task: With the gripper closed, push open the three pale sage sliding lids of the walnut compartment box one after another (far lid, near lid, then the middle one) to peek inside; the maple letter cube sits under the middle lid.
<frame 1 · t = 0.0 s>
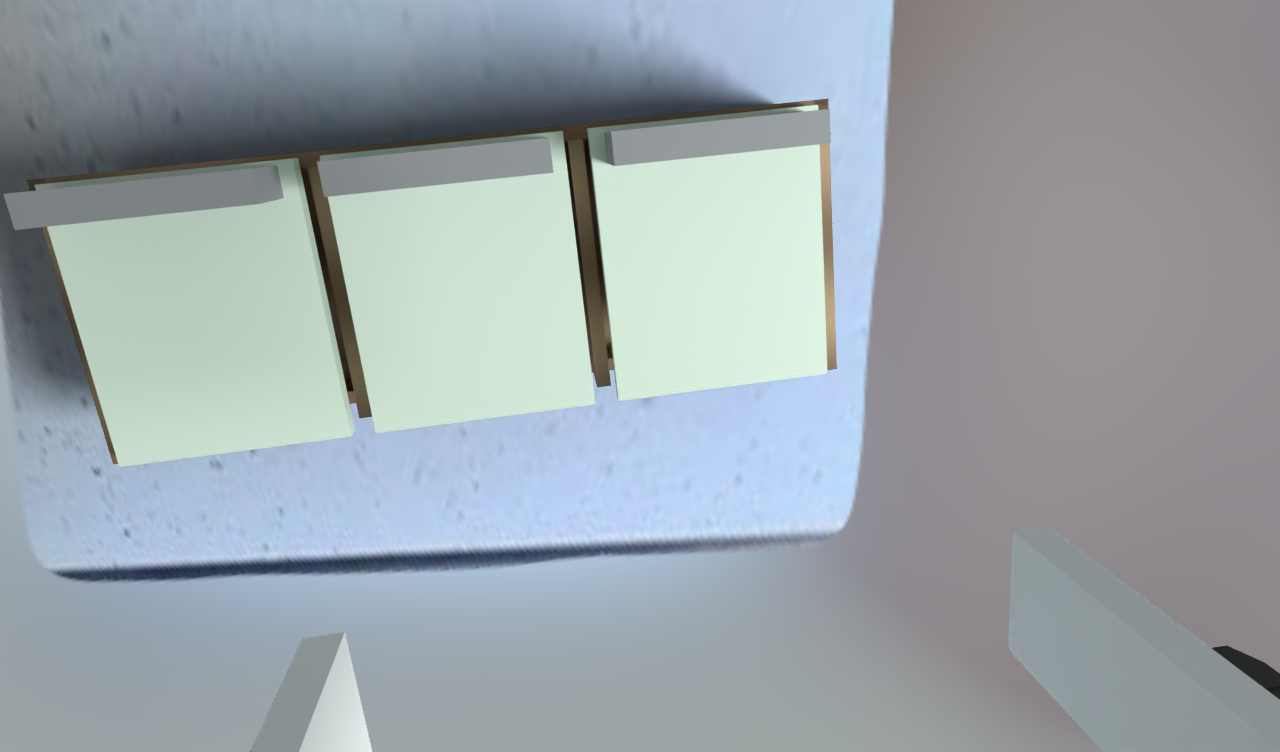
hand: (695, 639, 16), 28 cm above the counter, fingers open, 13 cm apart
lid b: (463, 292, 32), point 9 cm above the counter, slide at 0.0 cm
lid c: (720, 261, 33), point 9 cm above the counter, slide at 0.0 cm
lid a: (191, 324, 31), point 9 cm above the counter, slide at 0.0 cm
box: (478, 259, 41), on the counter
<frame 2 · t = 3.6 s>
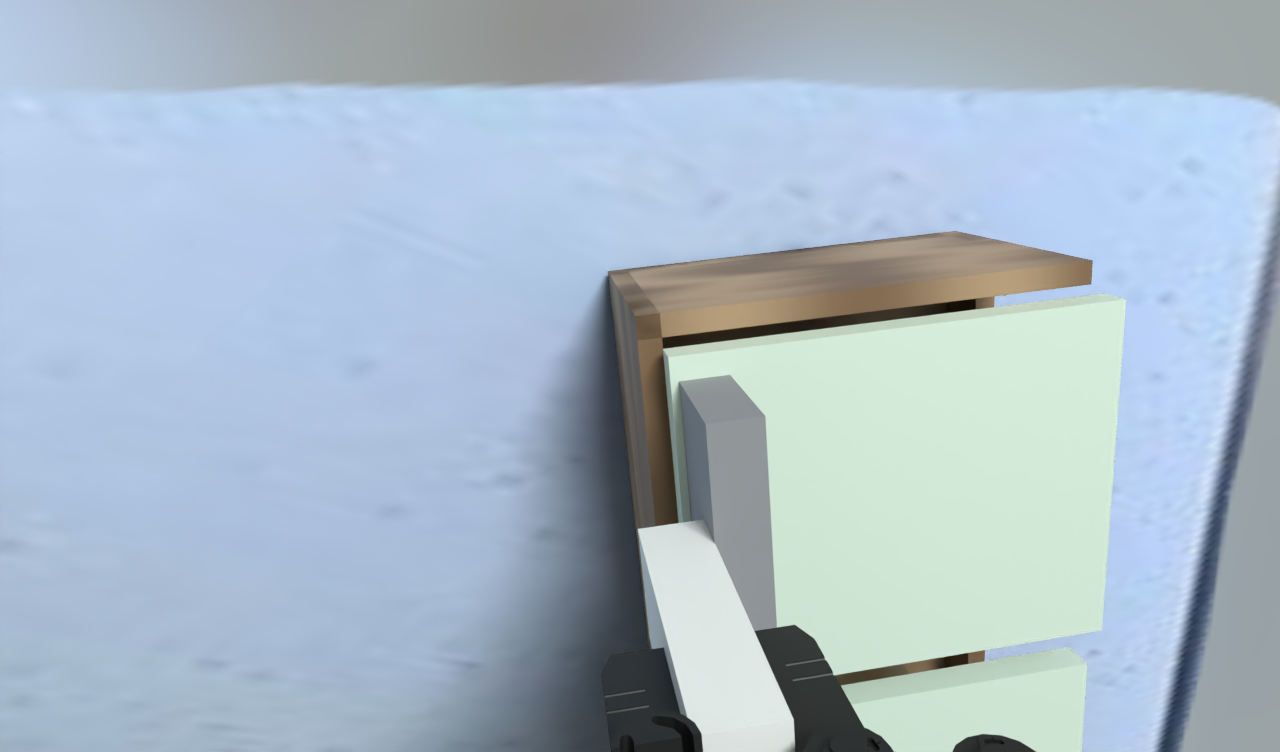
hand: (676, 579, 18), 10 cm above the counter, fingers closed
lid c: (924, 525, 20), point 9 cm above the counter, slide at 0.4 cm, touching gripper
letter cube: (823, 673, 31), point 1 cm above the counter, touching box
box: (803, 662, 31), on the counter
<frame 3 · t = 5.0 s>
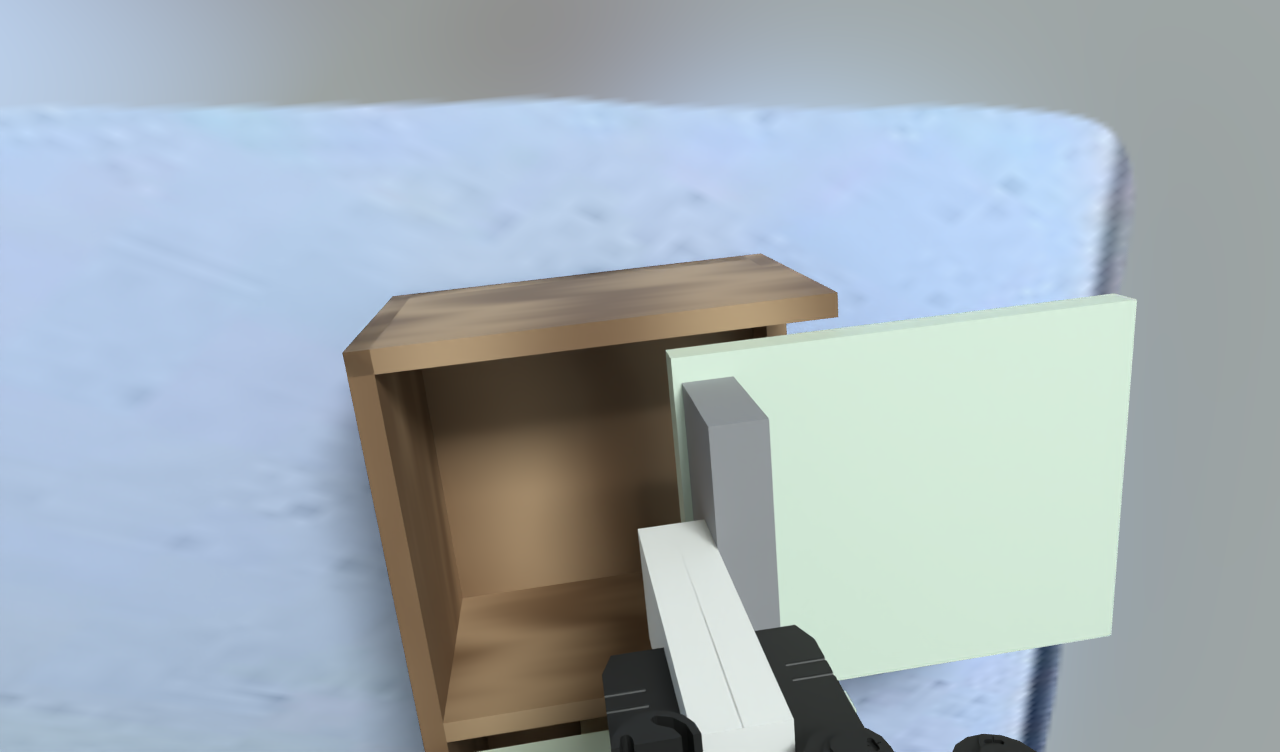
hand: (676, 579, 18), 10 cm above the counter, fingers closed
lid c: (930, 529, 19), point 9 cm above the counter, slide at 7.1 cm, touching gripper
letter cube: (646, 706, 30), point 1 cm above the counter, touching box
box: (630, 694, 30), on the counter
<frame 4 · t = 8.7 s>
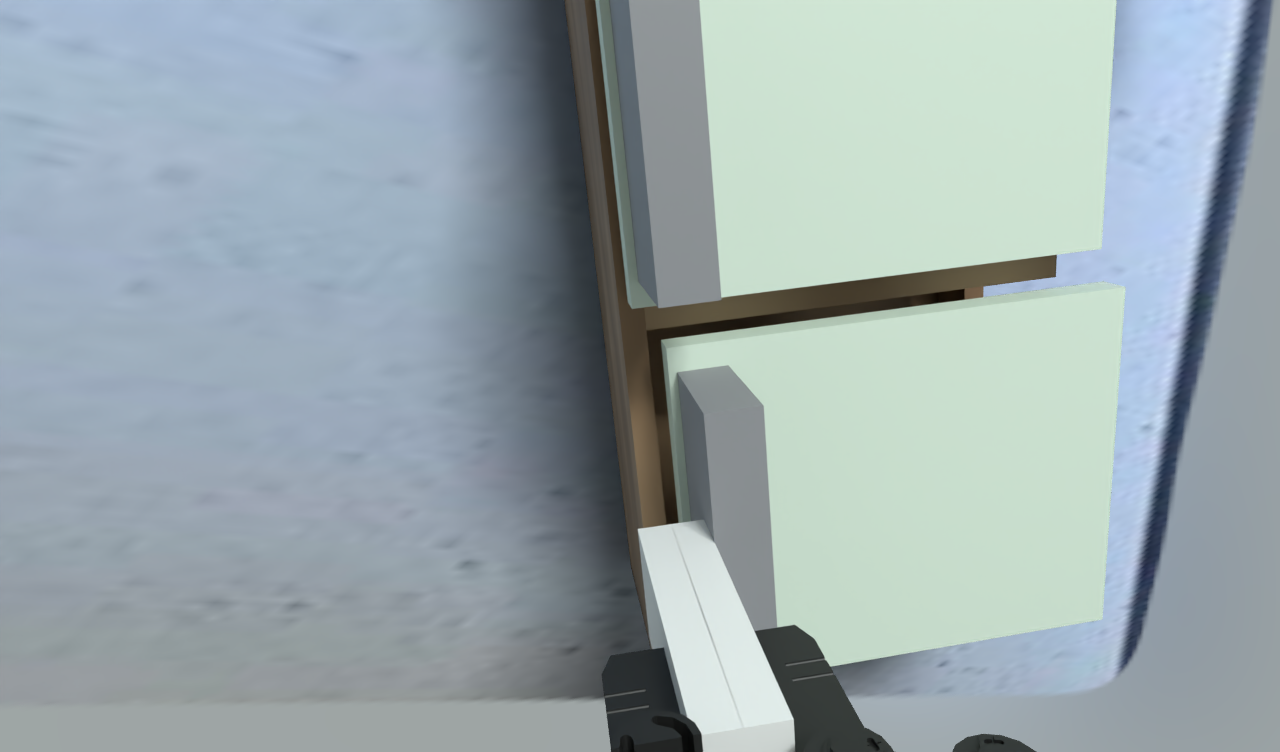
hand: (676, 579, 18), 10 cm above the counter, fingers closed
lid b: (890, 60, 17), point 9 cm above the counter, slide at 0.0 cm
lid a: (924, 515, 20), point 9 cm above the counter, slide at 0.7 cm, touching gripper
box: (765, 86, 25), on the counter
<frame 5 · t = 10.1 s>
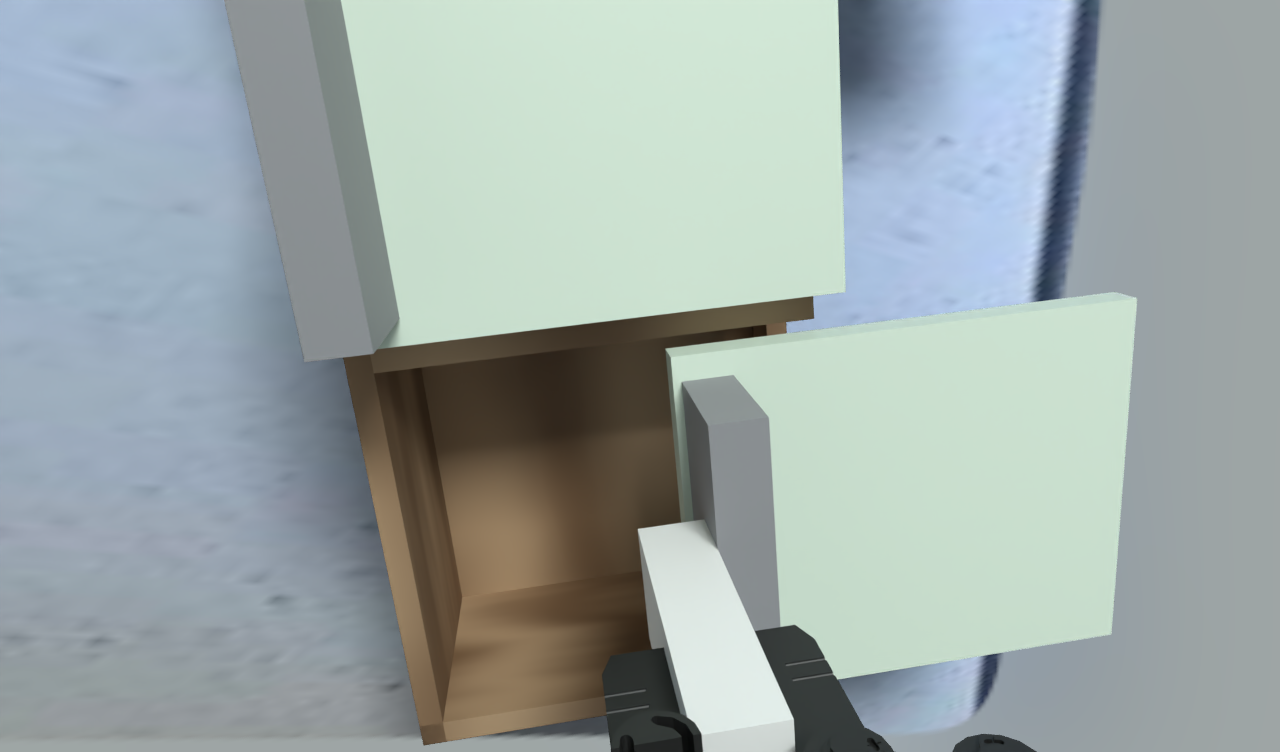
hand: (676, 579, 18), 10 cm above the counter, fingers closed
lid b: (576, 99, 16), point 9 cm above the counter, slide at 0.0 cm
lid a: (931, 528, 19), point 9 cm above the counter, slide at 7.1 cm, touching gripper
box: (561, 113, 25), on the counter
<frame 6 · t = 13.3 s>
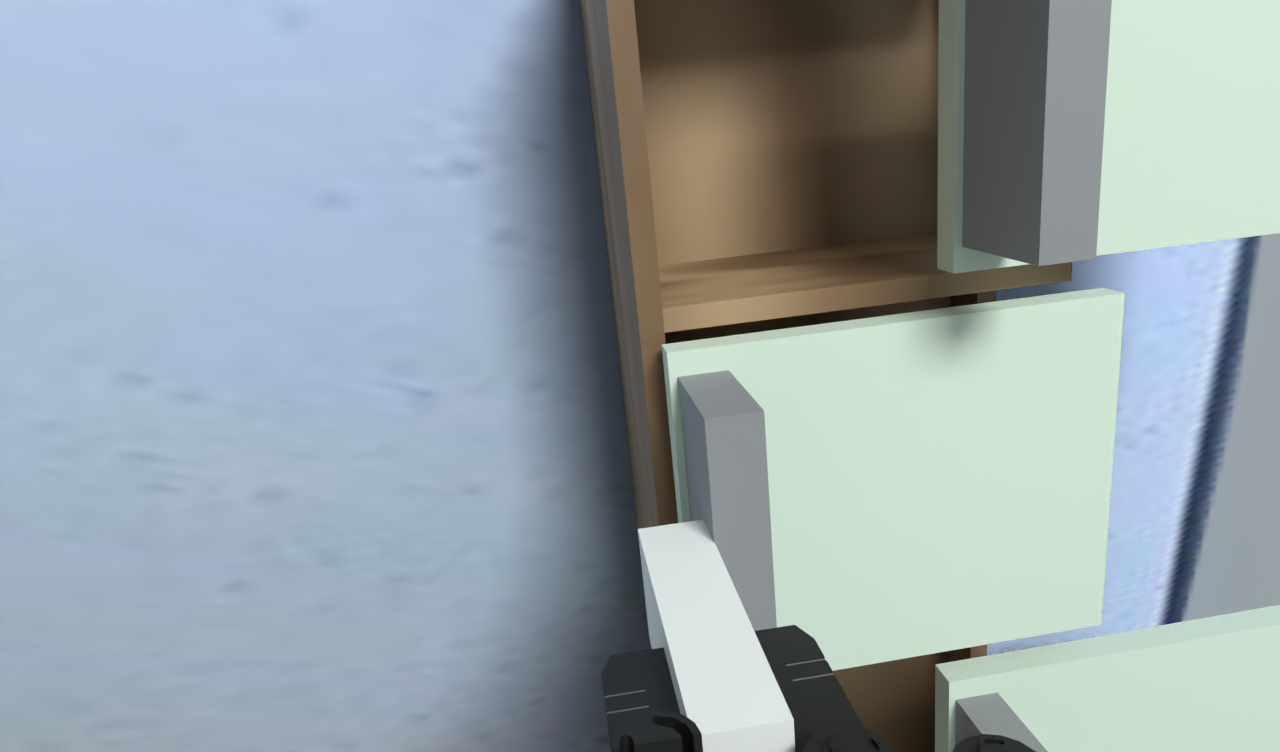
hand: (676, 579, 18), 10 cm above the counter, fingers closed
lid b: (923, 520, 20), point 9 cm above the counter, slide at 0.3 cm, touching gripper
lid c: (1235, 33, 17), point 9 cm above the counter, slide at 7.1 cm
box: (794, 403, 28), on the counter
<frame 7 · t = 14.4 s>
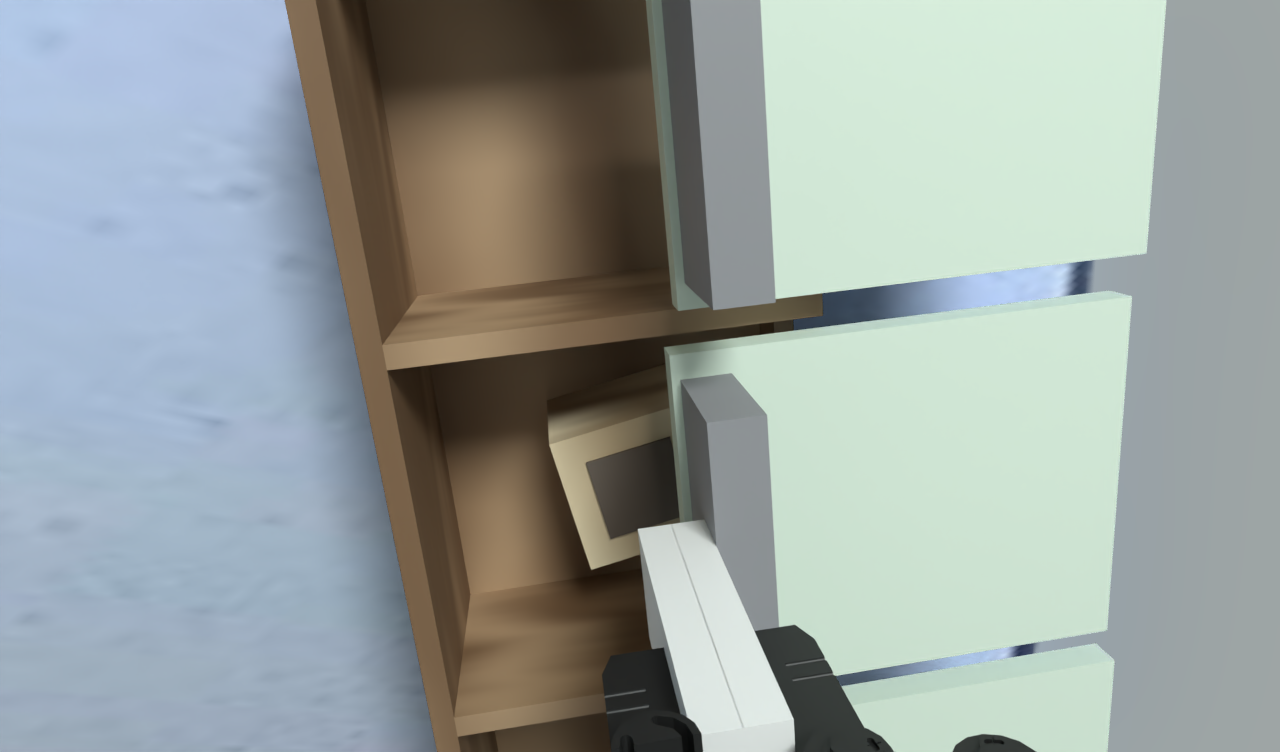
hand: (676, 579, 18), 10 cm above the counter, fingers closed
lid b: (927, 525, 20), point 9 cm above the counter, slide at 6.8 cm, touching gripper
lid c: (943, 64, 17), point 9 cm above the counter, slide at 7.1 cm
letter cube: (624, 438, 27), point 1 cm above the counter, touching box
box: (606, 431, 28), on the counter
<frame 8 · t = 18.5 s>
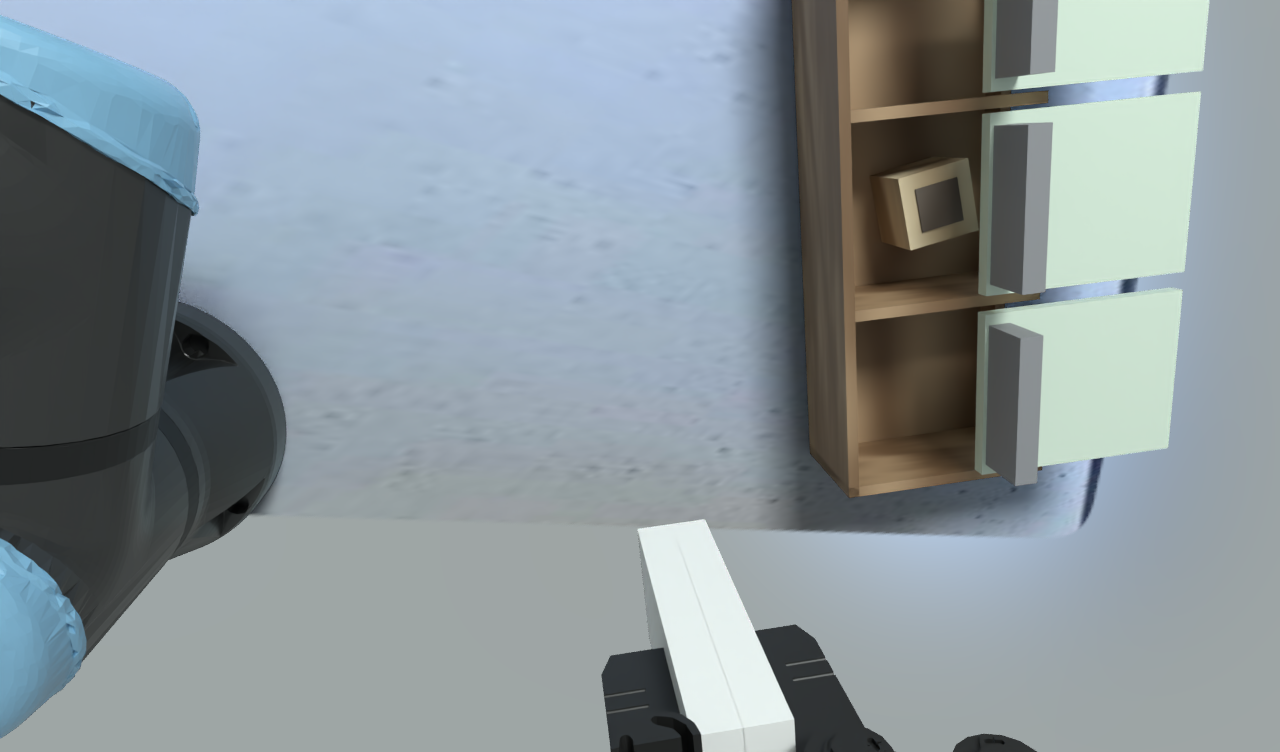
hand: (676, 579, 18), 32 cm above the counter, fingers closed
lid b: (1105, 197, 42), point 9 cm above the counter, slide at 7.1 cm
lid a: (1093, 389, 45), point 9 cm above the counter, slide at 7.1 cm
letter cube: (907, 199, 49), point 1 cm above the counter, touching box
box: (893, 199, 50), on the counter
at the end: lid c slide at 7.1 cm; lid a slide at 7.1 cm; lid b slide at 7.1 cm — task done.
